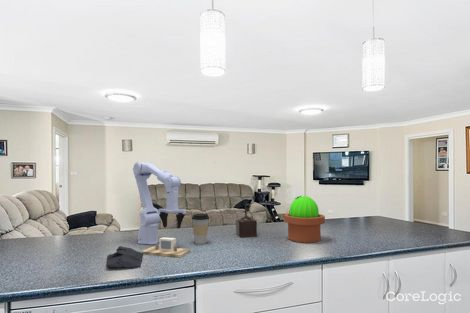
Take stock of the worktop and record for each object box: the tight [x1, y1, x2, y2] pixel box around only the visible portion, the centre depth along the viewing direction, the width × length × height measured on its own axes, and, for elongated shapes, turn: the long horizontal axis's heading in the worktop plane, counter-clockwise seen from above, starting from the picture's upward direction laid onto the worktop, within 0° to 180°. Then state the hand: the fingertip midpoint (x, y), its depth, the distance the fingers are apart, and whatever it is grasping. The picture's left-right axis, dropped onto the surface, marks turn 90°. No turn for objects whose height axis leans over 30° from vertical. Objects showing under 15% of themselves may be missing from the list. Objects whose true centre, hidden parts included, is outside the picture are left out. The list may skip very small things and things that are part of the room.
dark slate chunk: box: [106, 245, 144, 270], centre depth 124 cm, size 15×22×5 cm
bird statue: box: [235, 203, 258, 239], centre depth 177 cm, size 16×11×18 cm
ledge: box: [141, 242, 191, 258], centre depth 137 cm, size 20×10×4 cm, turn 74°
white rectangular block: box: [158, 236, 177, 252], centre depth 137 cm, size 7×3×6 cm, turn 74°
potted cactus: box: [283, 195, 326, 244], centre depth 164 cm, size 22×22×25 cm
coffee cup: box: [191, 213, 210, 245], centre depth 156 cm, size 9×9×15 cm
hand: (171, 227), depth 146 cm, fingers open, 7 cm apart
